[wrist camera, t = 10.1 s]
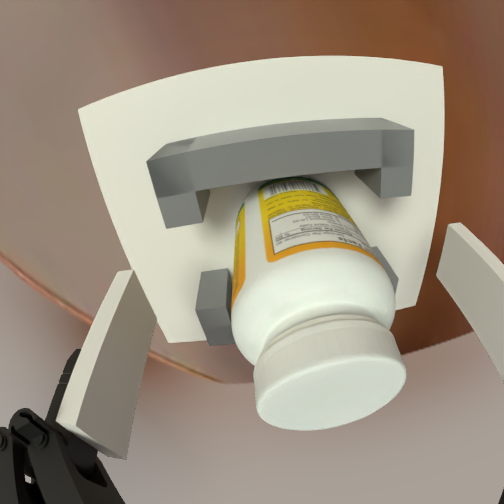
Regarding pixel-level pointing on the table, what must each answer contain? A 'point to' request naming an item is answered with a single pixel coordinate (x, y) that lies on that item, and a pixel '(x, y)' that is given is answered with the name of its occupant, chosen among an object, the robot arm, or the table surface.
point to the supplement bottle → (311, 308)
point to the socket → (265, 169)
